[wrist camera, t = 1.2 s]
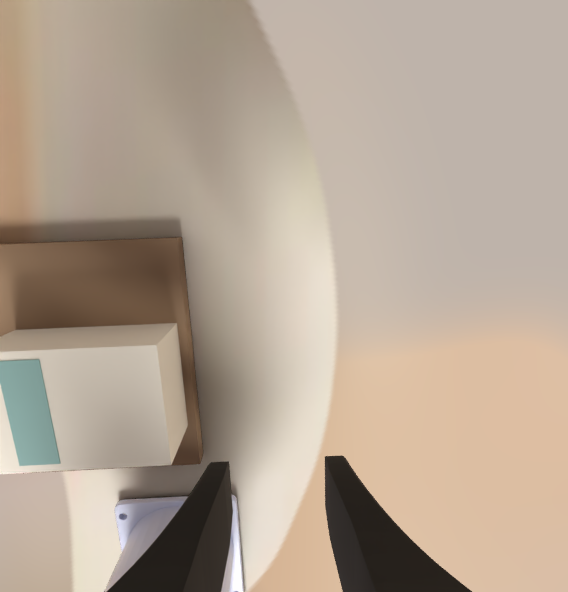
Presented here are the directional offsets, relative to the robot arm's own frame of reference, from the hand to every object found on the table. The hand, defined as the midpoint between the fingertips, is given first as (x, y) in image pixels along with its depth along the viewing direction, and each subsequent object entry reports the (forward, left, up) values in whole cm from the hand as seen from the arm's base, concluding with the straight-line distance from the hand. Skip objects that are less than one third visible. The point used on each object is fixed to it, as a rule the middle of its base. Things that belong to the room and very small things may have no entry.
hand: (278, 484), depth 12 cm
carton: (0, +10, -9) cm, 13 cm away
